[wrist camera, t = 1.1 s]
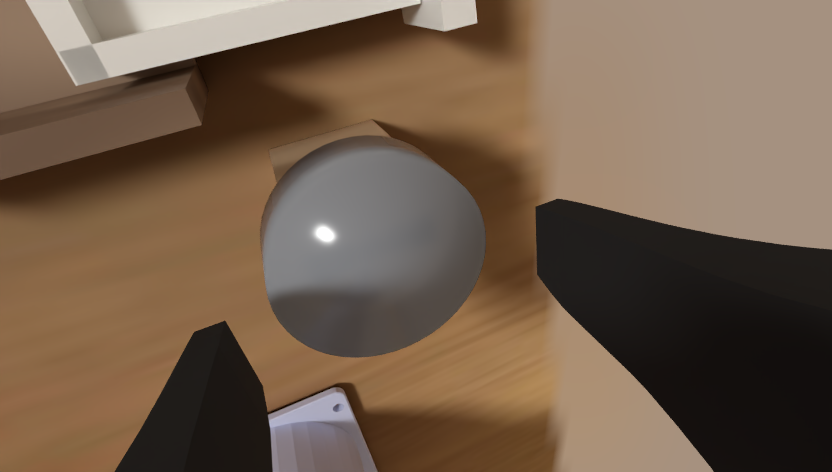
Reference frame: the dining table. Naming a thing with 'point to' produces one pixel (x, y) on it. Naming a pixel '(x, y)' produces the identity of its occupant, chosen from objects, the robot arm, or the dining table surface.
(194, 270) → the dining table surface
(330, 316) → the grey dome
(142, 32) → the white drawer
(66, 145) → the open square box
